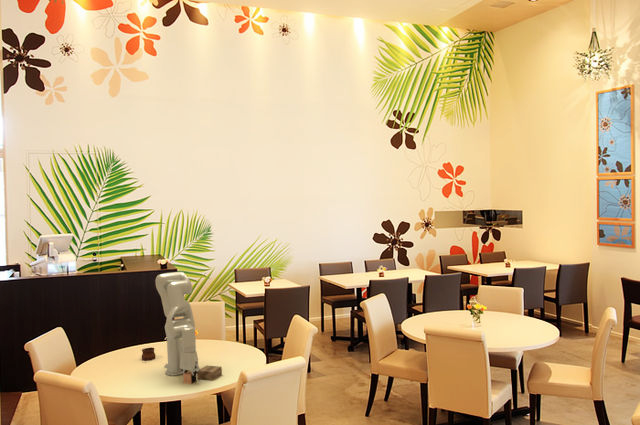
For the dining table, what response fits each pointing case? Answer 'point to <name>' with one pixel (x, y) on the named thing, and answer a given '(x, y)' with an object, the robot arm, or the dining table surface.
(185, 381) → the terracotta cube
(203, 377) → the block
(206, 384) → the dining table surface
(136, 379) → the dining table surface
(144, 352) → the brown pouch
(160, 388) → the dining table surface
